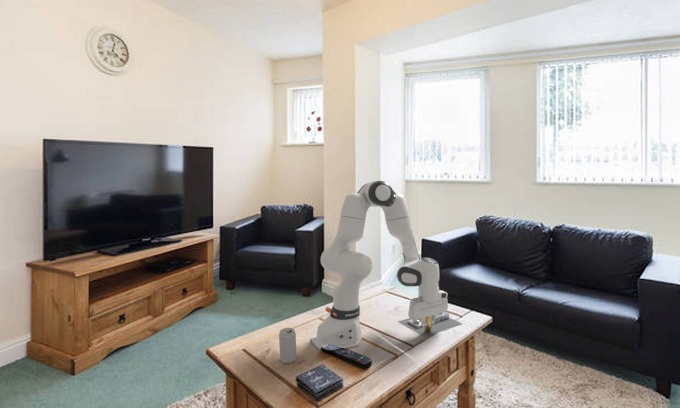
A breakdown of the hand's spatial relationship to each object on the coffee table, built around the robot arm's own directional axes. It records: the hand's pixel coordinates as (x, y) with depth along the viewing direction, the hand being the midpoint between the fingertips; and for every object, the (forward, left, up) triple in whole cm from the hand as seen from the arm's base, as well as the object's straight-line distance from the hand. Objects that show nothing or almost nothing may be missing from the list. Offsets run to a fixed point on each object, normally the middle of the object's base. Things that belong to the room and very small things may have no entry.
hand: (427, 324), depth 160 cm
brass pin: (0, 0, -3) cm, 3 cm away
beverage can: (-61, +12, -4) cm, 63 cm away
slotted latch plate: (+9, +8, -4) cm, 13 cm away
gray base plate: (+8, +6, -4) cm, 11 cm away
